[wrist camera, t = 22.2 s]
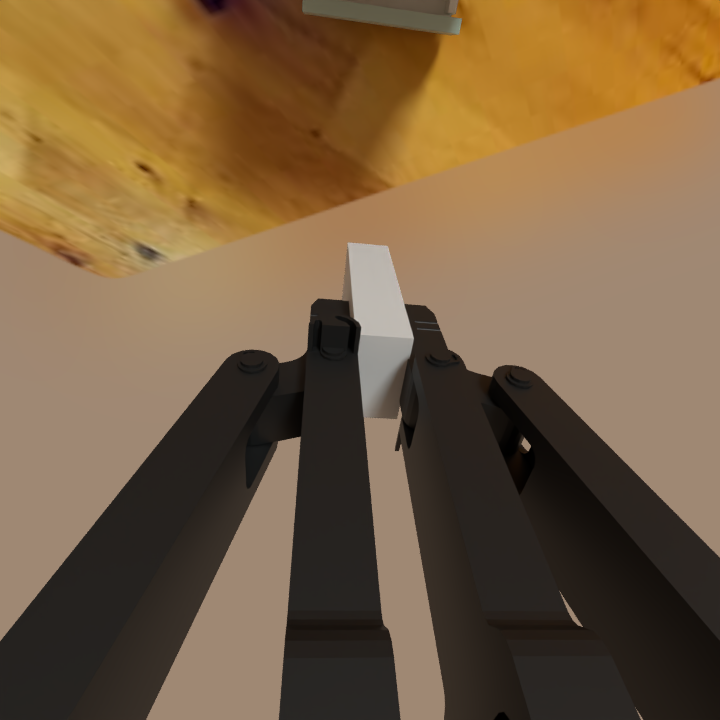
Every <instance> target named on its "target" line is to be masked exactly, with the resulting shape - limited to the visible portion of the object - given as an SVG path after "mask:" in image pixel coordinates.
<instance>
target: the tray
mask: <svg viewBox="0 0 720 720" xmlns="http://www.w3.org/2000/svg"><path fill="white" fill-rule="evenodd" d="M457 4H458V0H303V3H302V12H303V13H304V14H308V15H314V16H321V17H328V18H335V19H342V20H349V21H356V22H362V23H369V24H376V25H383V26H390V27H397V28H404V29H410V30H417V31H424V32H431V33H438V34H445V35H457V34H459V31H460V26H461V21H462V19H460V18H454V17H451V15H453V14H456V9H457Z"/></svg>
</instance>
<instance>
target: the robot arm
mask: <svg viewBox="0 0 720 720" xmlns="http://www.w3.org/2000/svg"><path fill="white" fill-rule="evenodd" d="M308 332H309V333H308V348H307V351H306V353H305V354H304V355H303V356H301V357H300V358H298V359H296V360H293V361H289V362H284V363H279V362H278V360H277V358H276V357H275V356H273V355H272V354H271V353H267V352H265V351H261V350H245V351H240V352H237V353H234V354H232V355H231V356H230V357H228V358H227V359H226V360H225V361H224V363H223V364H222V365H221V366H220V368H219V369H218V370H217V371H216V373H215V374H214V375H213V376H212V378H211V379H210V380H209V381H208V383H207V384H206V385H205V386H204V387H203V389H202V390H201V391H200V393H199V394H198V395H197V396H196V398H195V399H194V400H193V401H192V403H191V404H190V405H189V406H188V408H187V409H186V410H185V411H184V413H183V414H182V415H181V416H180V418H179V419H178V420H177V421H176V423H175V424H174V425H173V426H172V428H171V429H170V430H169V431H168V432H167V434H166V435H165V436H164V438H163V439H162V440H161V441H160V442H159V444H158V445H157V446H156V447H155V449H154V450H153V451H152V453H151V454H150V455H149V456H148V457H147V459H146V460H145V461H144V462H143V464H142V465H141V466H140V467H139V469H138V470H137V471H136V473H135V474H134V475H133V476H132V477H131V479H130V480H129V481H128V483H127V484H126V485H125V486H124V487H123V489H122V490H121V491H120V492H119V494H118V495H117V496H116V498H115V499H114V500H113V501H112V503H111V504H110V505H109V506H108V507H107V509H106V510H105V511H104V512H103V514H102V515H101V516H100V517H99V519H98V520H97V521H96V522H95V524H94V525H93V526H92V528H91V529H90V530H89V531H88V532H87V534H86V535H85V536H84V537H83V539H82V540H81V541H80V542H79V544H78V545H77V546H76V547H75V549H74V550H73V551H72V552H71V554H70V555H69V556H68V557H67V559H66V560H65V561H64V562H63V564H62V565H61V566H60V567H59V569H58V570H57V571H56V572H55V574H54V575H53V576H52V577H51V579H50V580H49V581H48V582H47V584H46V585H45V586H44V587H43V589H42V590H41V591H40V592H39V594H38V595H37V596H36V597H35V599H34V600H33V601H32V602H31V604H30V605H29V606H28V607H27V609H26V610H25V611H24V613H23V614H22V615H21V616H20V617H19V619H18V620H17V621H16V622H15V624H14V625H13V626H12V628H11V629H10V630H9V631H8V632H7V634H6V635H5V636H4V637H3V639H2V640H1V641H0V720H146V718H147V716H148V714H149V712H150V710H151V708H152V706H153V704H154V702H155V699H156V698H157V696H158V693H159V691H160V689H161V687H162V685H163V683H164V681H165V679H166V677H167V675H168V673H169V671H170V668H171V666H172V664H173V662H174V660H175V658H176V656H177V654H178V652H179V650H180V648H181V646H182V644H183V641H184V639H185V637H186V635H187V633H188V631H189V629H190V627H191V625H192V623H193V621H194V618H195V616H196V614H197V612H198V610H199V608H200V606H201V604H202V602H203V600H204V598H205V596H206V594H207V592H208V590H209V587H210V585H211V583H212V581H213V579H214V577H215V575H216V573H217V571H218V569H219V567H220V564H221V563H222V561H223V558H224V556H225V554H226V552H227V550H228V548H229V546H230V544H231V542H232V540H233V538H234V535H235V534H236V531H237V529H238V527H239V525H240V523H241V521H242V519H243V517H244V515H245V513H246V511H247V509H248V507H249V504H250V502H251V500H252V498H253V496H254V494H255V492H256V490H257V488H258V486H259V484H260V482H261V480H262V477H263V475H264V473H265V471H266V469H267V467H268V465H269V463H270V461H271V459H272V457H273V454H274V452H275V451H276V448H277V444H278V441H281V440H286V439H291V438H296V437H301V442H300V455H299V469H298V482H297V496H296V509H295V523H294V535H293V536H294V537H293V549H292V563H291V576H290V589H289V602H288V615H287V627H286V635H285V647H284V660H283V673H282V687H281V699H280V713H279V720H400V711H399V702H398V692H397V683H396V673H395V663H394V655H393V648H392V641H391V637H390V633H389V630H388V629H387V628H386V627H385V626H384V624H383V620H382V614H381V603H380V592H379V582H378V570H377V560H376V548H375V537H374V526H373V516H372V504H371V493H370V483H369V472H368V460H367V449H366V439H365V428H364V417H370V418H371V417H372V418H390V419H397V416H398V412H399V407H401V412H402V418H401V423H400V427H399V432H398V437H397V441H396V446H395V451H399V448H400V445H401V444H402V449H403V456H404V461H405V467H406V473H407V479H408V484H409V490H410V496H411V502H412V508H413V513H414V519H415V525H416V531H417V536H418V542H419V548H420V553H421V559H422V565H423V571H424V577H425V582H426V588H427V593H428V600H429V606H430V611H431V617H432V623H433V629H434V634H435V640H436V646H437V652H438V658H439V663H440V669H441V675H442V680H443V687H444V694H445V715H444V720H641V719H640V717H639V715H638V713H637V710H638V712H639V713H640V715H641V717H642V718H643V720H720V558H719V557H718V555H717V554H715V552H714V551H712V549H710V548H709V546H707V544H706V543H705V542H704V541H703V540H702V539H700V537H699V536H698V535H697V534H696V533H695V532H694V531H693V530H692V529H691V528H690V527H689V526H688V525H687V524H686V523H685V522H684V521H683V520H682V519H680V517H679V516H677V514H676V513H675V512H673V510H672V509H671V508H670V507H669V506H668V505H667V504H666V503H665V502H664V501H663V500H662V499H661V498H660V497H659V496H658V495H657V494H656V493H655V492H654V491H653V490H652V489H651V488H650V487H649V486H648V485H647V484H646V483H645V482H644V481H643V480H642V479H641V478H640V477H639V476H638V475H637V474H636V473H635V472H634V471H633V470H632V469H631V468H630V467H629V466H628V465H627V464H626V463H625V462H624V461H623V460H622V459H621V458H620V457H619V456H618V455H617V454H616V453H615V452H614V451H613V450H612V449H611V448H610V447H609V446H608V445H607V444H606V443H605V442H604V441H603V440H602V439H601V438H600V437H599V436H598V435H597V434H596V433H595V432H594V431H593V430H592V429H591V428H590V427H589V426H588V425H587V424H586V423H585V422H584V421H583V420H582V419H581V418H580V417H579V416H578V415H577V414H576V413H575V412H574V411H573V410H572V409H571V408H570V407H569V406H568V405H567V404H566V403H565V402H564V401H563V400H562V399H561V398H560V397H559V396H558V395H557V394H556V393H555V392H554V391H553V390H552V389H551V388H550V387H549V386H548V385H547V384H546V383H545V382H544V381H543V380H542V379H541V378H540V377H539V376H537V375H536V374H535V373H534V372H532V371H530V370H527V369H526V368H523V367H519V366H513V365H504V366H501V367H498V368H497V369H496V370H495V371H494V373H493V376H492V377H489V376H486V375H481V374H478V373H474V372H472V371H469V370H467V369H466V366H465V364H464V362H463V360H462V359H461V358H460V356H459V355H457V354H456V353H454V352H453V351H450V350H448V349H447V346H446V343H445V340H444V338H443V335H442V333H441V331H440V328H439V325H438V324H437V320H436V317H435V315H434V313H433V312H432V311H430V310H429V309H428V308H427V307H426V306H421V305H408V304H404V302H403V298H402V295H401V291H400V288H399V285H398V281H397V277H396V274H395V270H394V267H393V263H392V260H391V256H390V253H389V249H388V246H381V245H370V244H359V243H348V246H347V256H346V266H345V275H344V285H343V295H342V300H330V299H317V300H316V301H315V302H314V303H313V304H312V306H311V316H310V323H309V331H308ZM524 437H525V439H526V440H527V441H528V442H529V444H530V445H531V448H530V450H529V451H527V450H526V449H525V448H524V447H523V446H522V445H521V443H522V441H523V439H524ZM559 591H560V592H561V594H562V595H563V597H564V598H565V600H566V601H567V603H568V605H569V606H570V607H571V609H572V611H573V612H574V614H575V615H576V617H577V618H578V620H579V621H580V623H581V624H582V626H583V627H581V626H578V625H577V624H576V623H575V622H574V621H573V620H572V618H571V616H570V615H569V613H568V611H567V608H566V606H565V604H564V601H563V599H562V596H561V594H560V592H559ZM635 707H636V708H635ZM636 709H637V710H636Z"/></svg>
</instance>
